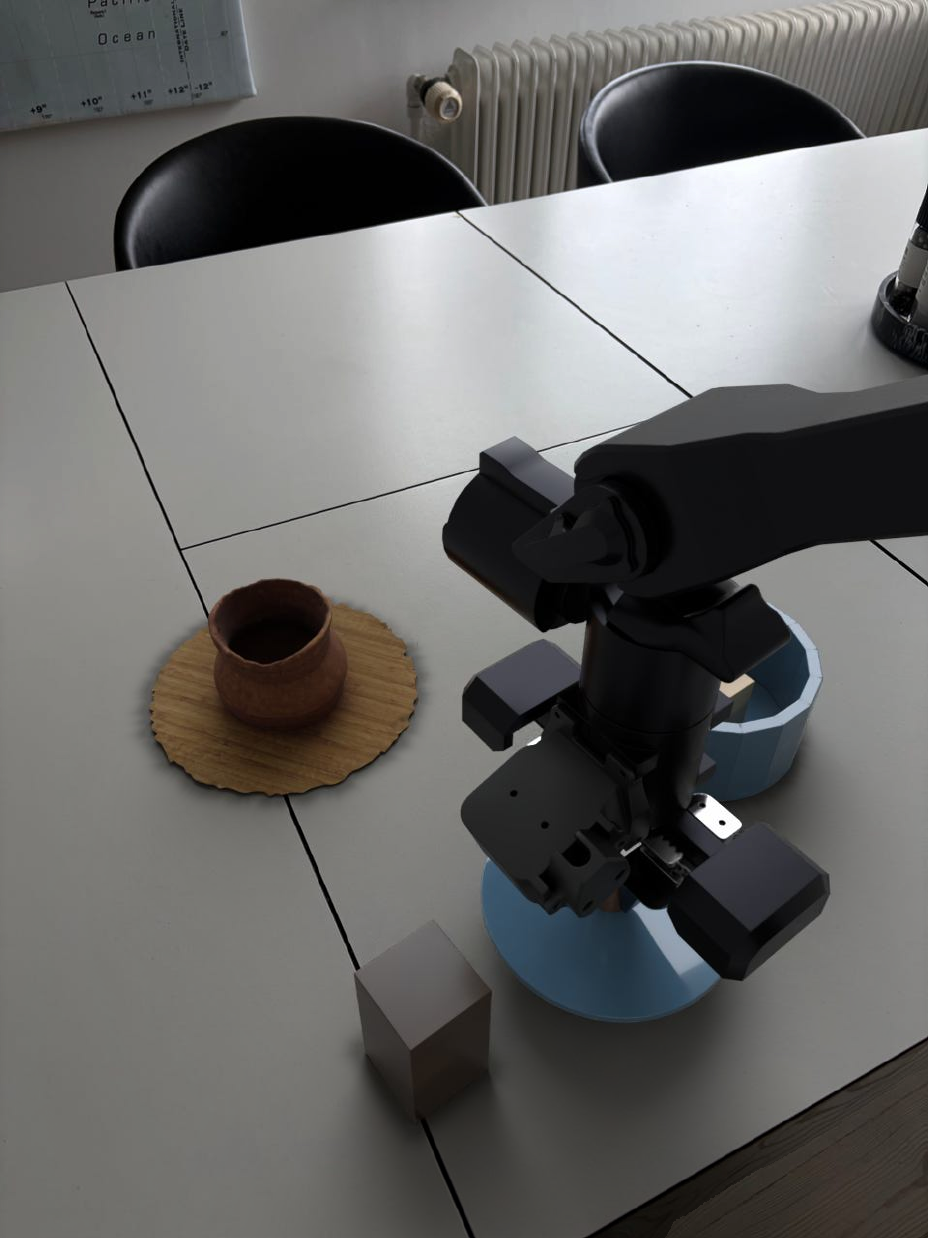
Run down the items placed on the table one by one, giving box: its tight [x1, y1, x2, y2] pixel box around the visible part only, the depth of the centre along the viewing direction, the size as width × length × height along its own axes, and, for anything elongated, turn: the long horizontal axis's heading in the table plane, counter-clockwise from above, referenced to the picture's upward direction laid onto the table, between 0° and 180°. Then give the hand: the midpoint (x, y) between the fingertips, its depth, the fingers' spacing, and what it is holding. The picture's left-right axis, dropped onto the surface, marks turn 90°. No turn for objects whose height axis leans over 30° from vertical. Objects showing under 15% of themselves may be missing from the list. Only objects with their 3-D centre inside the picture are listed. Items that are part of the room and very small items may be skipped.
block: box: [719, 674, 755, 724], centre depth 64 cm, size 4×4×4 cm
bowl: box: [693, 600, 824, 803], centre depth 64 cm, size 13×13×6 cm
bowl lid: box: [480, 842, 722, 1024], centre depth 52 cm, size 14×14×5 cm
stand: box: [353, 919, 493, 1125], centre depth 47 cm, size 4×4×8 cm
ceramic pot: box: [148, 577, 419, 797], centre depth 65 cm, size 18×18×7 cm
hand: (610, 887), depth 52 cm, fingers closed on bowl lid, 2 cm apart
